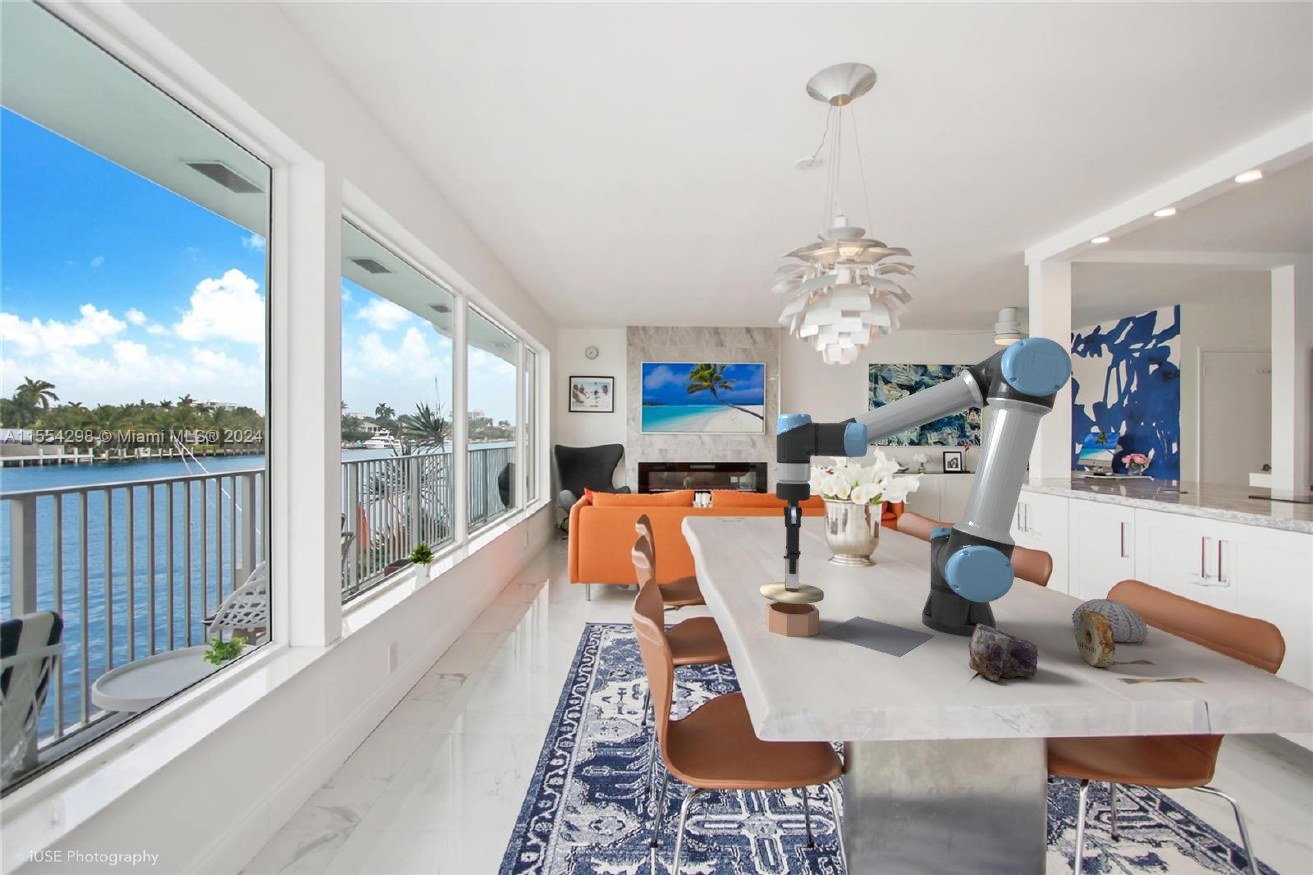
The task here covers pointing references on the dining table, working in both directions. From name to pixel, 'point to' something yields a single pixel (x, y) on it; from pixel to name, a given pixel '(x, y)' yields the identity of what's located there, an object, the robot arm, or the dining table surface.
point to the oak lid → (791, 592)
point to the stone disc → (1095, 639)
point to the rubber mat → (877, 636)
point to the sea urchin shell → (1116, 619)
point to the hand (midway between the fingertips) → (791, 585)
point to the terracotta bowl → (792, 619)
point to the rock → (1001, 654)
